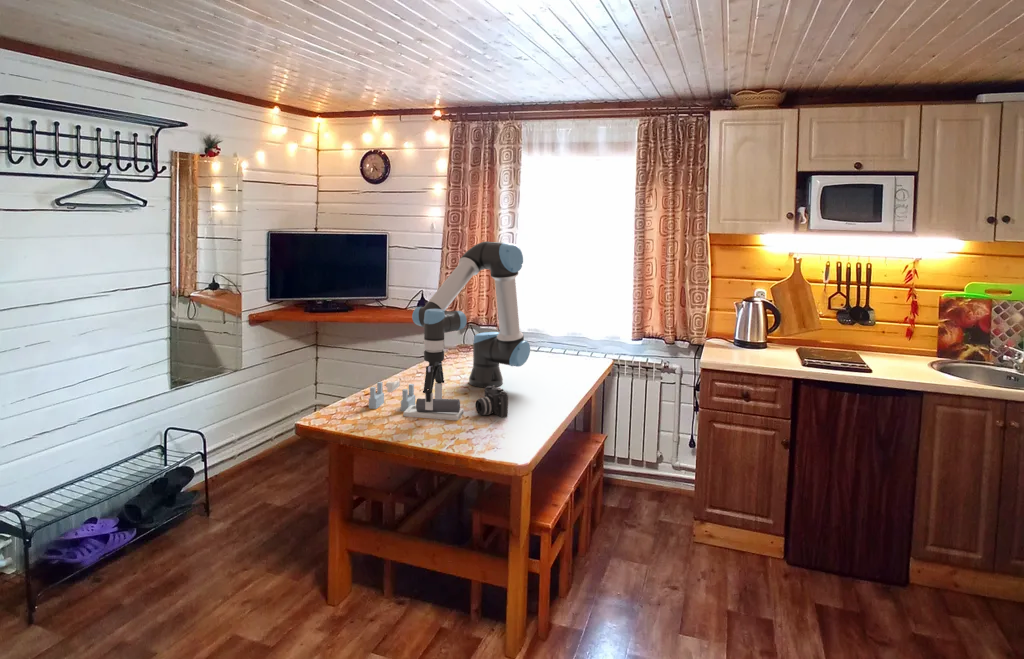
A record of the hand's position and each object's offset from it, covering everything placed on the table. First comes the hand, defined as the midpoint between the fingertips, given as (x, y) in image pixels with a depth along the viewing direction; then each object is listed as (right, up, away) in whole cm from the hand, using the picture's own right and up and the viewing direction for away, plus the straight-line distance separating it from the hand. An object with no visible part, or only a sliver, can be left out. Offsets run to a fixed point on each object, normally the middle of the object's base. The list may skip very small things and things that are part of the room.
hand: (433, 404), depth 265 cm
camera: (+21, -4, +4) cm, 22 cm away
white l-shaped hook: (-15, +6, 0) cm, 17 cm away
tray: (0, -4, +1) cm, 4 cm away
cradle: (-17, -2, +9) cm, 20 cm away
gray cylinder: (+2, -3, 0) cm, 3 cm away
